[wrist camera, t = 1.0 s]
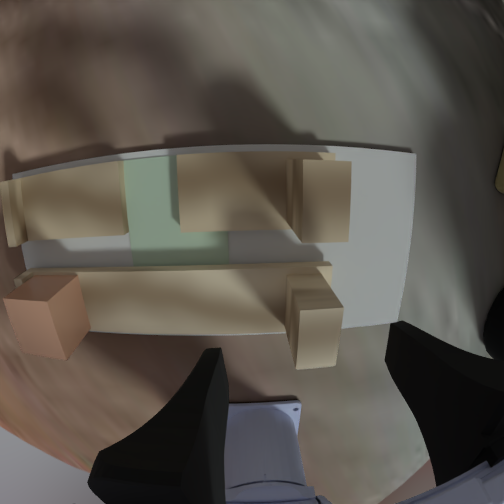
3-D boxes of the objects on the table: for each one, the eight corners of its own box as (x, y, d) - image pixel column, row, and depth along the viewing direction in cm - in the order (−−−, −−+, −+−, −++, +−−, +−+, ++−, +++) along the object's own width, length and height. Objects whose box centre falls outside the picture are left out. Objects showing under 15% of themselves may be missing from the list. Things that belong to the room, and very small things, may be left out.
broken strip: (329, 225, 20) (361, 251, 15) (26, 238, 20) (-19, 261, 14) (331, 153, 19) (366, 152, 13) (19, 178, 18) (-30, 189, 12)
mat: (395, 319, 24) (397, 322, 23) (44, 324, 23) (42, 327, 22) (413, 153, 20) (416, 153, 19) (15, 173, 18) (11, 174, 18)
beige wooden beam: (323, 322, 22) (346, 370, 17) (44, 320, 22) (10, 356, 16) (328, 261, 21) (358, 298, 15) (30, 267, 20) (-12, 297, 14)
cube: (90, 328, 21) (66, 360, 16) (49, 324, 21) (22, 352, 16) (78, 275, 19) (47, 301, 15) (35, 274, 19) (2, 298, 15)
